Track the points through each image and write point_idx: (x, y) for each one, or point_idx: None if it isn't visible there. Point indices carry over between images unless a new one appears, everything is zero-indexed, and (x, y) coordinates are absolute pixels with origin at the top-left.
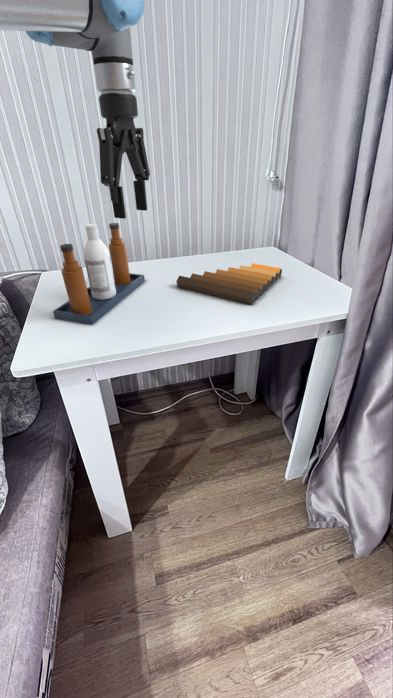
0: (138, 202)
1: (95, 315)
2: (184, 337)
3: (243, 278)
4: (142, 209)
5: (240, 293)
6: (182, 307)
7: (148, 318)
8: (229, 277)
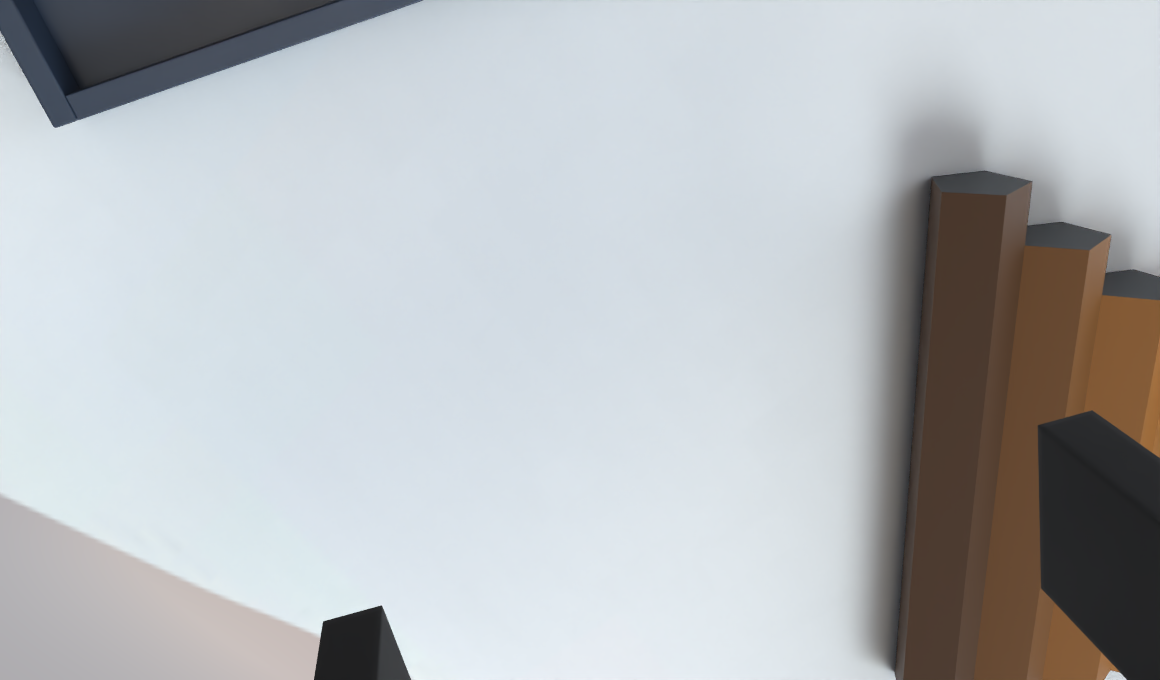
0: (1126, 557)
1: (114, 107)
2: None
3: None
4: (1049, 541)
5: (926, 651)
6: (666, 418)
7: (416, 357)
8: None
